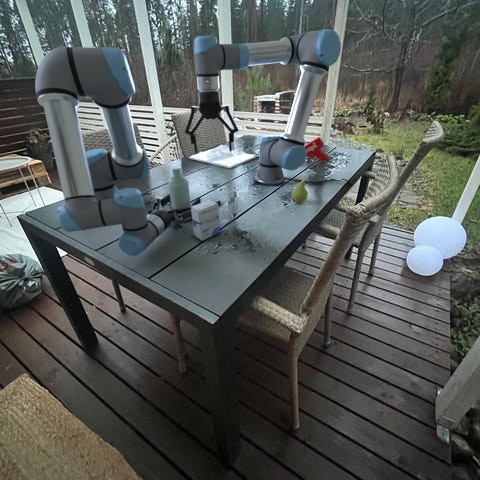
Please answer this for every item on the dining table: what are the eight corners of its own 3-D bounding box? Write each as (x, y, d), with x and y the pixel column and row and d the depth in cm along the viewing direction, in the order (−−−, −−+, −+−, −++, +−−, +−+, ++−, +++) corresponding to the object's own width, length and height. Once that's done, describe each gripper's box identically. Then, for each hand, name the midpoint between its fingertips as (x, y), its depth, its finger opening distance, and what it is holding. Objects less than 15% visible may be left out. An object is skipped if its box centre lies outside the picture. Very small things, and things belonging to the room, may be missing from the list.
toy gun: (332, 156, 168) (319, 135, 164) (331, 158, 165) (319, 137, 161) (306, 172, 178) (294, 152, 174) (305, 174, 175) (293, 154, 171)
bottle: (195, 213, 113) (189, 166, 102) (187, 222, 107) (181, 172, 96) (178, 211, 114) (171, 164, 104) (170, 219, 108) (162, 170, 98)
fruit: (288, 200, 123) (290, 174, 116) (302, 197, 125) (305, 172, 119) (296, 206, 118) (299, 179, 111) (310, 203, 120) (314, 177, 114)
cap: (209, 205, 119) (208, 200, 118) (214, 201, 122) (214, 197, 121) (217, 207, 118) (216, 202, 116) (222, 203, 121) (222, 199, 119)
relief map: (230, 168, 162) (230, 159, 159) (189, 158, 180) (188, 150, 177) (256, 157, 180) (256, 149, 177) (216, 149, 198) (215, 142, 195)
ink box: (211, 227, 103) (209, 198, 96) (220, 232, 100) (219, 203, 93) (193, 236, 98) (190, 206, 91) (202, 241, 95) (199, 210, 88)
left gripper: (127, 227, 98) (159, 203, 115) (189, 238, 92) (213, 211, 109) (122, 208, 94) (156, 186, 111) (187, 218, 88) (212, 193, 105)
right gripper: (171, 92, 92) (180, 155, 104) (244, 90, 93) (245, 152, 105) (174, 90, 99) (182, 150, 110) (243, 88, 100) (243, 147, 111)
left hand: (184, 198), depth 110 cm, fingers open, 13 cm apart
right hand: (213, 151), depth 108 cm, fingers open, 13 cm apart
